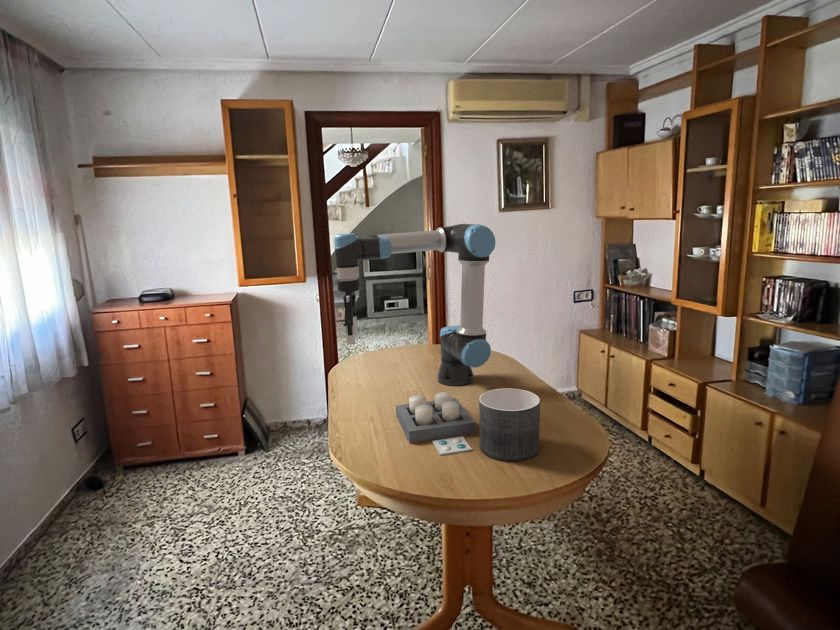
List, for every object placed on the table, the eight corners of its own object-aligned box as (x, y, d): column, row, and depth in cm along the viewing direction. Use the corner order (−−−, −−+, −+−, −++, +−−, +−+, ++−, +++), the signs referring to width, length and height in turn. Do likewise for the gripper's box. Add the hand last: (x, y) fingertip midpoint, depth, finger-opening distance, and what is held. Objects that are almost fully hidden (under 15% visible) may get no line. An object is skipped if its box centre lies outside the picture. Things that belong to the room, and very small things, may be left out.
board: (455, 408, 188) (455, 397, 187) (476, 433, 167) (475, 422, 166) (396, 416, 183) (395, 405, 182) (409, 443, 162) (409, 431, 161)
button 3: (448, 406, 183) (448, 391, 182) (453, 412, 178) (452, 396, 177) (433, 408, 182) (432, 393, 181) (437, 414, 177) (437, 399, 175)
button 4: (456, 415, 175) (455, 400, 173) (461, 422, 169) (461, 406, 168) (440, 418, 173) (439, 402, 172) (445, 424, 168) (444, 408, 167)
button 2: (430, 419, 173) (429, 403, 171) (434, 426, 167) (434, 410, 166) (414, 421, 171) (413, 406, 170) (418, 428, 166) (417, 412, 165)
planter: (541, 463, 147) (541, 411, 143) (478, 460, 150) (477, 409, 147) (538, 435, 164) (538, 388, 160) (481, 433, 167) (480, 387, 164)
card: (462, 437, 165) (462, 435, 164) (472, 450, 156) (472, 448, 156) (432, 442, 162) (432, 440, 162) (440, 455, 154) (440, 453, 154)
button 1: (424, 409, 181) (423, 394, 180) (427, 415, 176) (427, 400, 175) (408, 411, 180) (407, 396, 179) (411, 417, 175) (411, 402, 173)
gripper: (340, 274, 190) (345, 330, 194) (333, 285, 165) (338, 349, 170) (361, 273, 190) (365, 329, 195) (356, 284, 166) (361, 348, 170)
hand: (352, 339), depth 182 cm, fingers open, 13 cm apart
